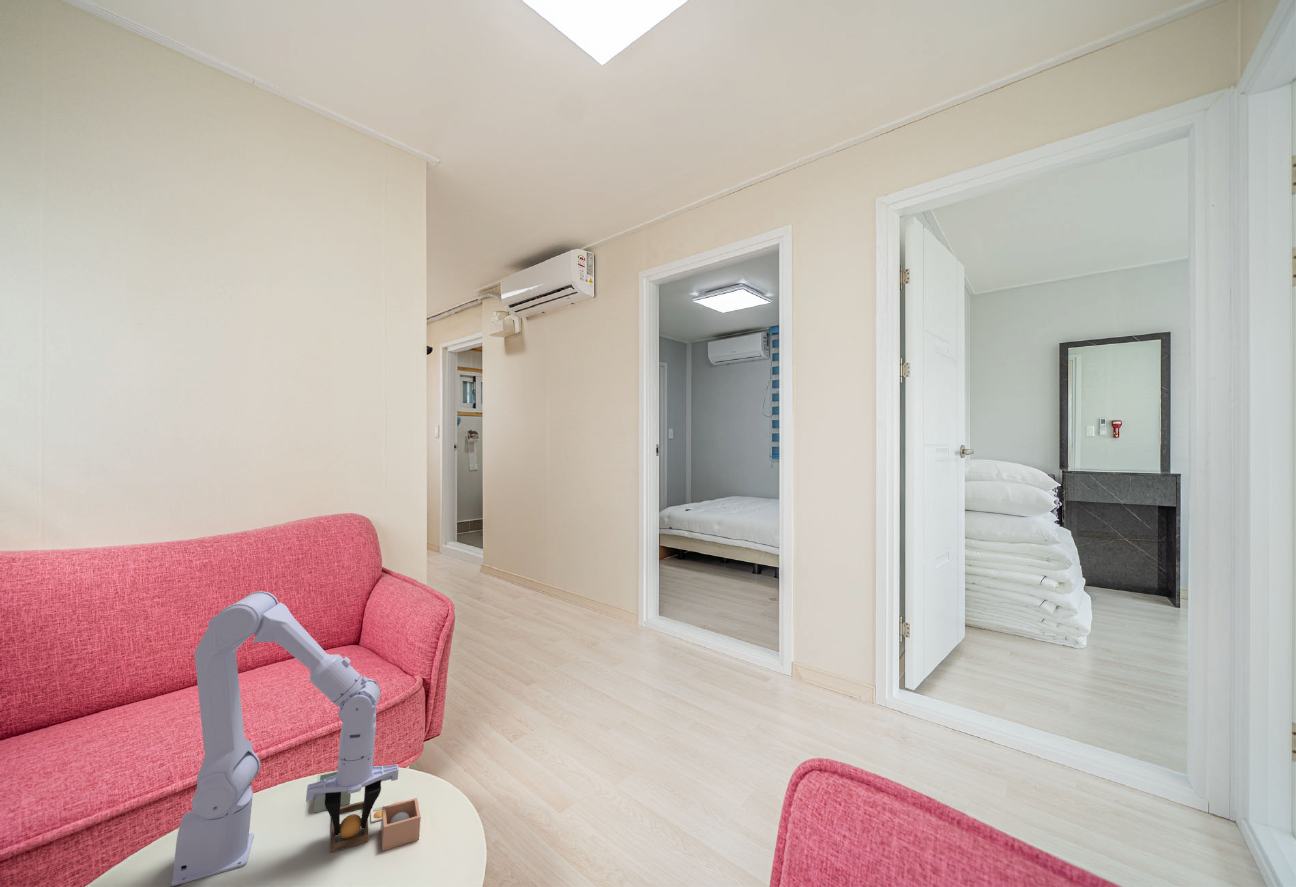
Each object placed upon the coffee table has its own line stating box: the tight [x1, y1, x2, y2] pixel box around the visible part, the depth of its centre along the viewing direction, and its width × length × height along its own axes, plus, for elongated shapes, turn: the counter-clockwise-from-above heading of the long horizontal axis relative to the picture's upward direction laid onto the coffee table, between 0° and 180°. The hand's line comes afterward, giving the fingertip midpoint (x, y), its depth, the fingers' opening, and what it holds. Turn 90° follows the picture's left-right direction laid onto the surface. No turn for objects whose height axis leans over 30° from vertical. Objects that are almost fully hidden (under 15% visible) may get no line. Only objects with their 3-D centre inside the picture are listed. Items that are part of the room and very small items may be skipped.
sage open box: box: [313, 770, 352, 814], centre depth 101 cm, size 6×6×4 cm
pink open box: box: [380, 797, 422, 852], centre depth 92 cm, size 6×6×4 cm
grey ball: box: [389, 812, 410, 824], centre depth 92 cm, size 4×4×4 cm
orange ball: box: [339, 813, 362, 840], centre depth 91 cm, size 4×4×4 cm
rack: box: [329, 800, 370, 854], centre depth 93 cm, size 6×11×1 cm, turn 31°
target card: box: [369, 799, 405, 824], centre depth 98 cm, size 6×4×1 cm, turn 121°
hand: (350, 828), depth 91 cm, fingers closed on orange ball, 4 cm apart
